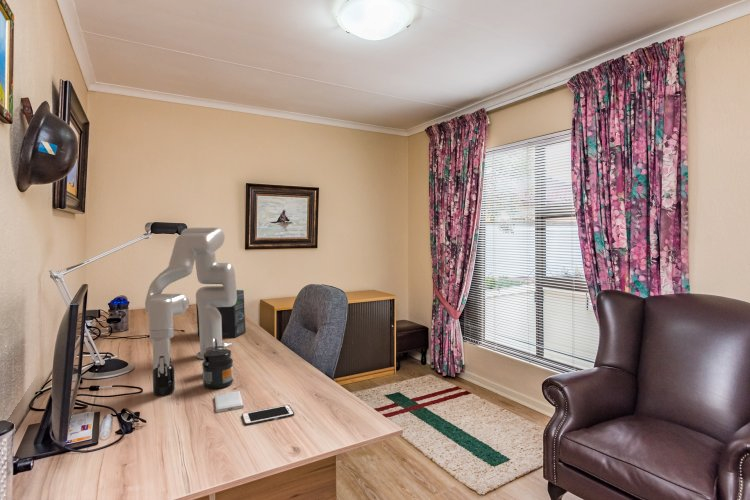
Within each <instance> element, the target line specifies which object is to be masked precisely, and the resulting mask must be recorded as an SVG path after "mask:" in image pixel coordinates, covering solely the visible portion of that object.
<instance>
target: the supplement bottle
mask: <svg viewBox="0 0 750 500" xmlns="http://www.w3.org/2000/svg"><path fill="white" fill-rule="evenodd" d="M164 366H166V365H164ZM159 367H160V366H159ZM164 370H165V369H164ZM167 375H168V382H169V386H168V387H164V388H158V367H157V368H156V369H154V368H153V367H152V393H153V395H155V396H158V397H159V396H161V397H162V396H166V395H170V394H172V393H174V391H175V389H176V387H175V386H176V385H175V384H176V381H175V366H174V365H173V364H172V358H171V357H170V363H169V367H167Z"/></svg>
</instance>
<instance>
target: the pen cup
mask: <svg viewBox="0 0 750 500" xmlns="http://www.w3.org/2000/svg"><path fill="white" fill-rule="evenodd" d="M215 349H224V347H223V346H217V339H215V346H214V339H212V347H208V348H206V349H205V352H207V351H210V350H215Z"/></svg>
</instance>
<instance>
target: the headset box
mask: <svg viewBox="0 0 750 500" xmlns="http://www.w3.org/2000/svg"><path fill="white" fill-rule="evenodd" d="M236 290H237V301H236V304H235V305H234V306H231V307H216V308H217V309H218V311H219V312H220V314H221V319H222V320H221V321H222V338H237V337H239V336H241V335H243V334H245V333H246V332H247V331H246V330H247V329H246V315H245V295H244V294H245V290H243V289H236ZM195 302H196V301H195ZM195 305H196V307H195V308H196V323H197V325H196V326H197V337H198V338H200V336H199V312H198V306H197V302H196V303H195Z"/></svg>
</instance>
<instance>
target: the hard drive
mask: <svg viewBox="0 0 750 500" xmlns="http://www.w3.org/2000/svg"><path fill="white" fill-rule="evenodd" d="M214 405H215V412H216V414H217V413H222V412H229V411H233V410H239V409H244V407H245V405H244V402H243V398H242V395H241V391H240V390H239V391H232V392H225V393H220V394H215V395H214Z"/></svg>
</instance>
